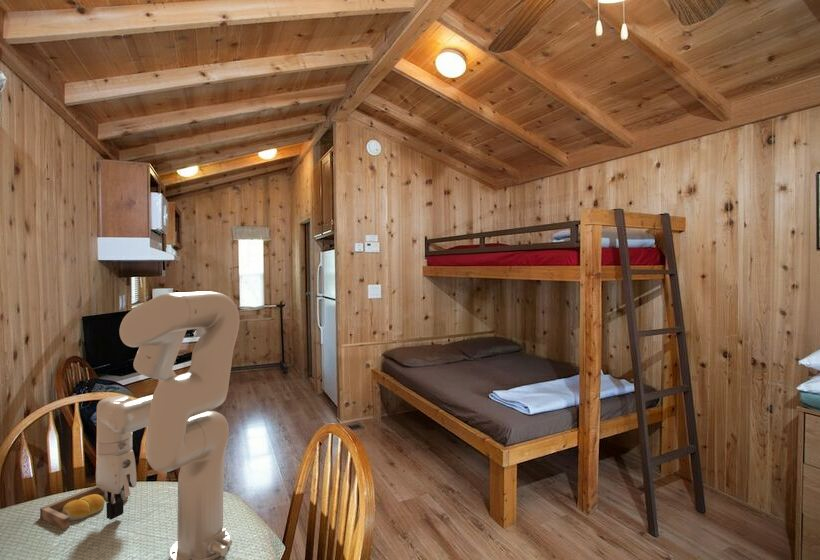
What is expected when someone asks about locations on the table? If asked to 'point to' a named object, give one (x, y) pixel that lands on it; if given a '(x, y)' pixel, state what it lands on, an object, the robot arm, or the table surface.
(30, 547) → the table surface
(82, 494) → the frame
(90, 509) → the bread roll
